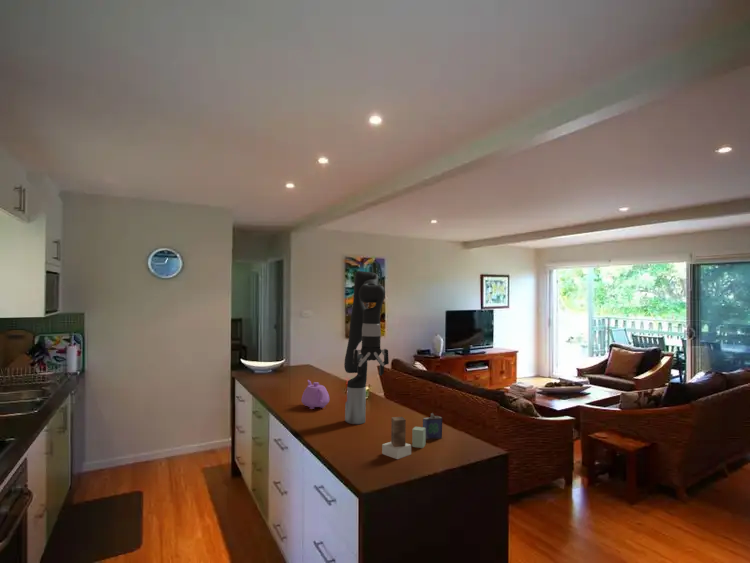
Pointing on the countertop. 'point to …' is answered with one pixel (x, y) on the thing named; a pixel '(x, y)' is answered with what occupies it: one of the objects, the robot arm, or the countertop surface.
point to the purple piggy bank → (315, 395)
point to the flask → (433, 427)
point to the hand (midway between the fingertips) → (370, 375)
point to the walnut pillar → (398, 431)
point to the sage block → (418, 437)
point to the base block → (396, 450)
